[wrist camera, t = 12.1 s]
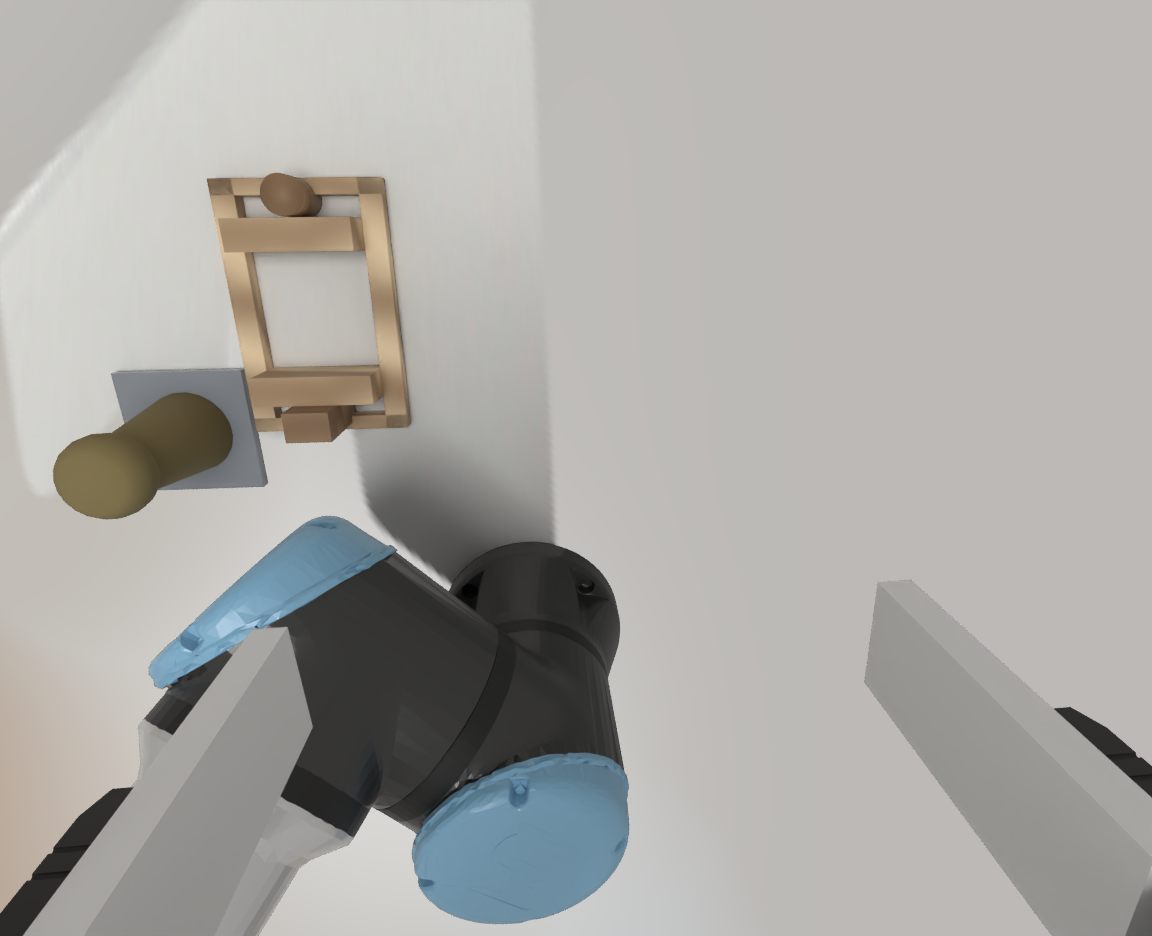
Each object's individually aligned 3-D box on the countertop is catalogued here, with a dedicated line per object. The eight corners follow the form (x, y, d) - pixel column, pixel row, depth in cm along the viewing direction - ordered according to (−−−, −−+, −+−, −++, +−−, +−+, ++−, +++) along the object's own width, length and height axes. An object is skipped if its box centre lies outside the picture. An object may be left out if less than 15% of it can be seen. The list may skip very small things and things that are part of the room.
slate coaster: (268, 482, 48) (263, 486, 47) (149, 486, 48) (142, 490, 47) (245, 368, 45) (240, 370, 44) (118, 371, 44) (110, 373, 44)
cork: (193, 376, 44) (88, 416, 34) (250, 445, 46) (167, 503, 36) (128, 418, 45) (6, 470, 35) (187, 484, 47) (88, 552, 37)
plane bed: (410, 423, 47) (393, 447, 41) (263, 427, 46) (226, 452, 41) (384, 178, 41) (359, 168, 36) (215, 180, 41) (164, 169, 35)
